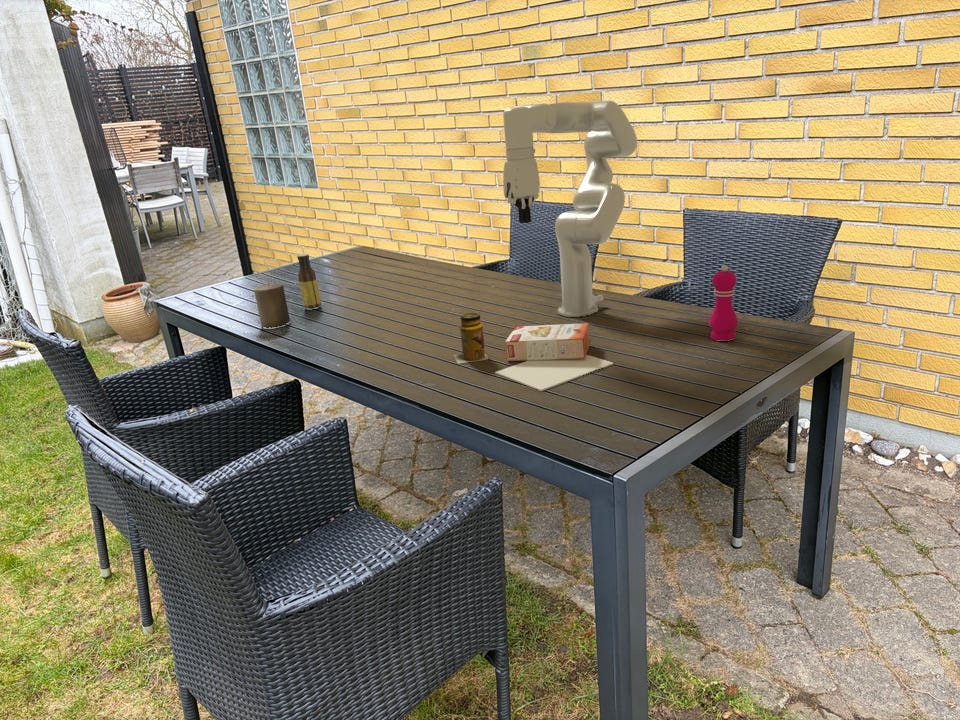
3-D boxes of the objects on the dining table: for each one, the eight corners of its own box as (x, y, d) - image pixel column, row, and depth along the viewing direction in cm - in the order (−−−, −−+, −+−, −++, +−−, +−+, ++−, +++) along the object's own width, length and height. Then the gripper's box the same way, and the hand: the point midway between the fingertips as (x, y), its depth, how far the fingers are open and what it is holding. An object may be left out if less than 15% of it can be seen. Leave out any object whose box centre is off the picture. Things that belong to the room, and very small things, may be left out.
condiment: (489, 359, 197) (485, 316, 193) (458, 364, 195) (453, 321, 191) (483, 351, 204) (479, 310, 200) (453, 356, 202) (448, 314, 198)
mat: (565, 349, 199) (565, 348, 199) (613, 364, 185) (613, 362, 185) (495, 373, 186) (495, 372, 186) (541, 391, 172) (541, 389, 172)
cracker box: (583, 336, 186) (503, 341, 191) (586, 359, 188) (506, 362, 193) (589, 321, 199) (514, 325, 204) (591, 342, 200) (516, 346, 206)
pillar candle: (296, 323, 249) (288, 280, 244) (271, 331, 242) (262, 287, 237) (280, 320, 255) (272, 278, 251) (255, 327, 249) (247, 284, 244)
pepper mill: (738, 335, 198) (741, 262, 191) (735, 343, 192) (737, 268, 185) (711, 333, 201) (712, 261, 194) (706, 342, 195) (708, 268, 188)
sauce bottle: (317, 305, 270) (308, 252, 264) (325, 307, 266) (316, 253, 259) (301, 309, 267) (291, 255, 260) (309, 312, 262) (299, 257, 255)
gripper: (530, 151, 206) (535, 217, 212) (490, 158, 198) (496, 226, 204) (549, 151, 201) (553, 218, 207) (508, 158, 192) (514, 228, 198)
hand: (525, 222), depth 205 cm, fingers closed
